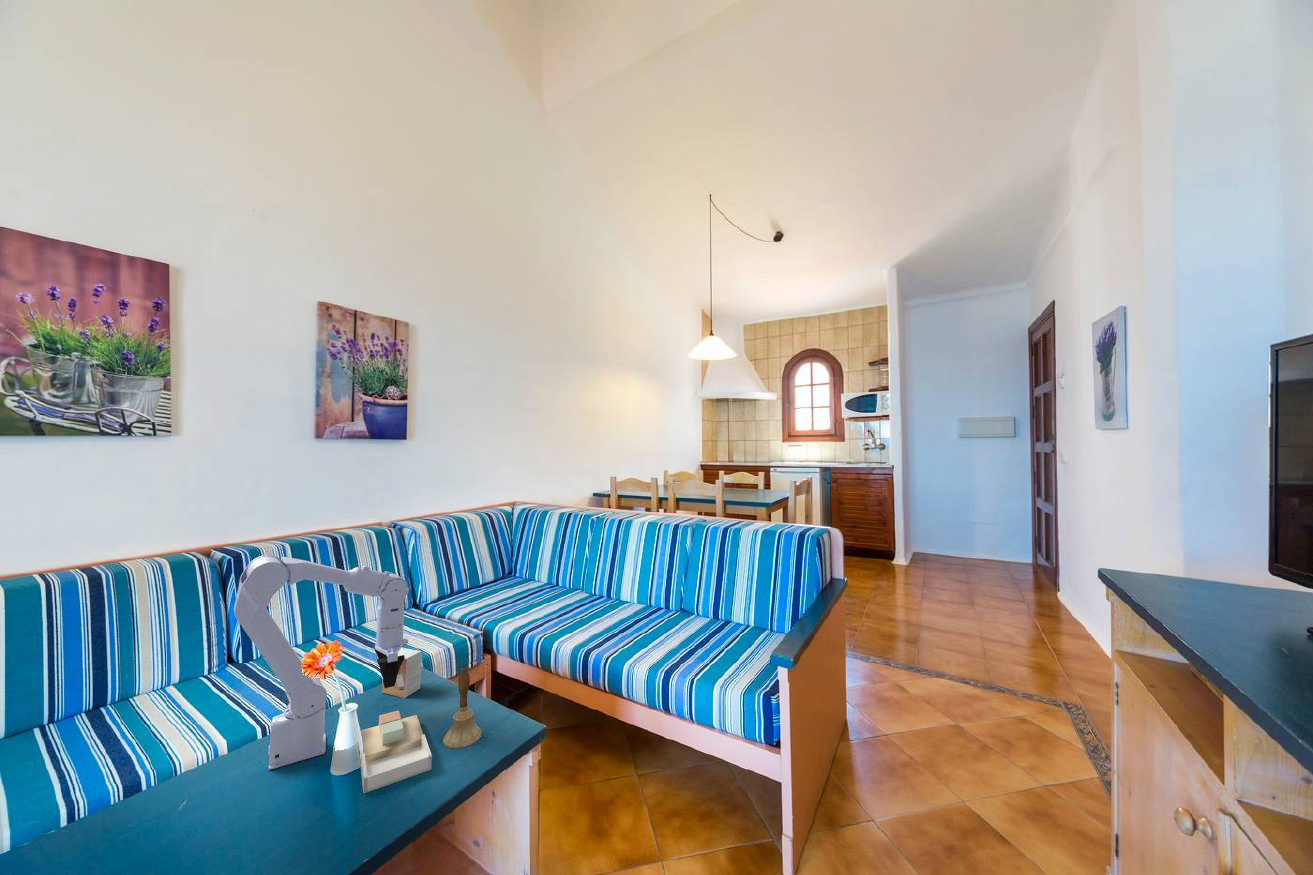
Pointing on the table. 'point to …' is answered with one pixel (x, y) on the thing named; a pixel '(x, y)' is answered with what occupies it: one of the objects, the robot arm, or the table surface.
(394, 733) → the sage tile
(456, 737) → the hand bell
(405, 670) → the small box
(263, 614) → the robot arm
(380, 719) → the terracotta tile
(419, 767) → the tray
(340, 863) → the table surface
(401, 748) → the beech board
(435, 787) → the table surface
